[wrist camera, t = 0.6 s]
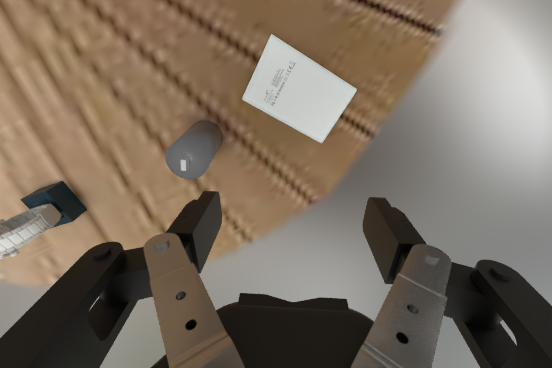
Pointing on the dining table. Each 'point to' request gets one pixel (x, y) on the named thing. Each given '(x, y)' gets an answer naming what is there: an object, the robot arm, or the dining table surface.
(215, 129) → the grey upright cylinder
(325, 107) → the external hard drive
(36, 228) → the watch
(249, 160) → the dining table surface
